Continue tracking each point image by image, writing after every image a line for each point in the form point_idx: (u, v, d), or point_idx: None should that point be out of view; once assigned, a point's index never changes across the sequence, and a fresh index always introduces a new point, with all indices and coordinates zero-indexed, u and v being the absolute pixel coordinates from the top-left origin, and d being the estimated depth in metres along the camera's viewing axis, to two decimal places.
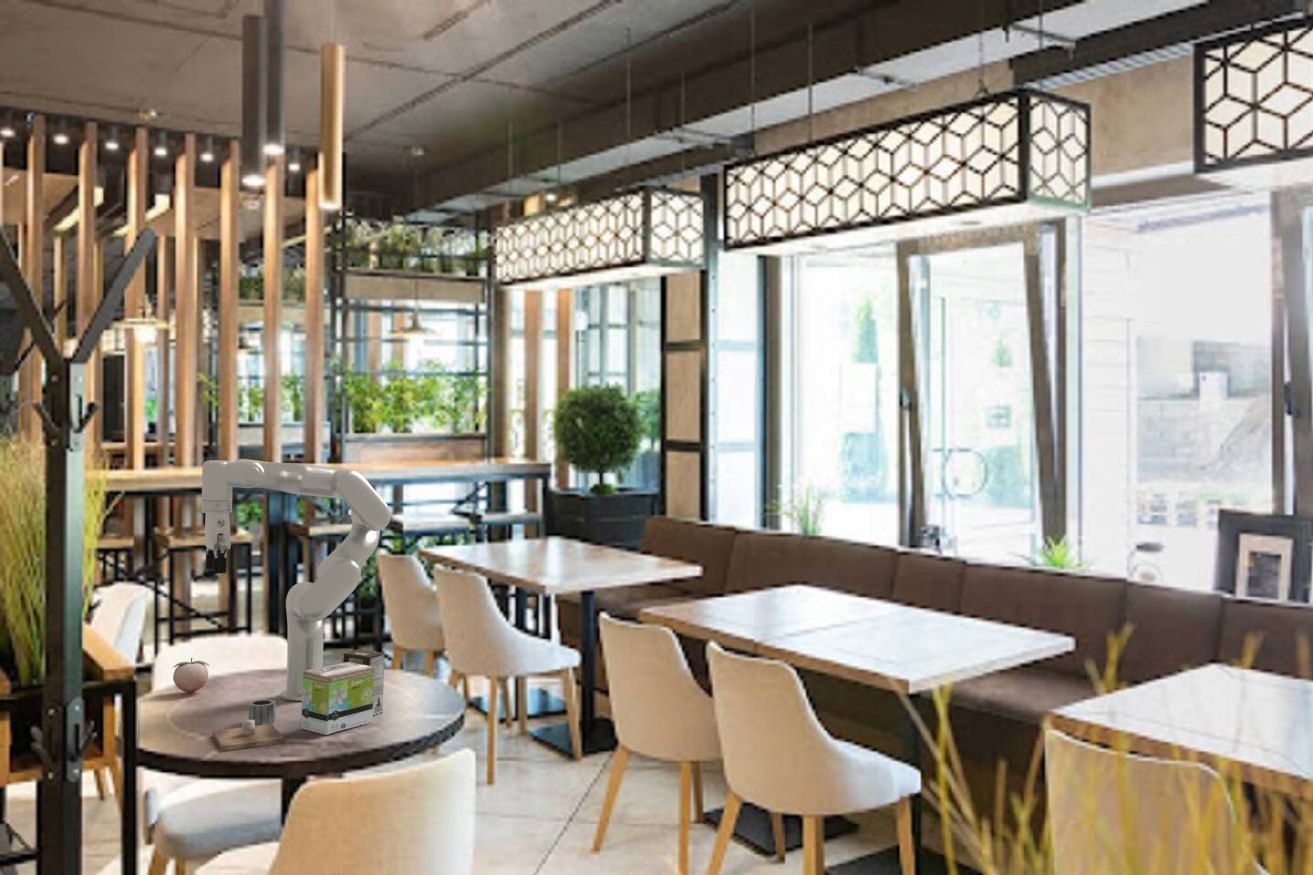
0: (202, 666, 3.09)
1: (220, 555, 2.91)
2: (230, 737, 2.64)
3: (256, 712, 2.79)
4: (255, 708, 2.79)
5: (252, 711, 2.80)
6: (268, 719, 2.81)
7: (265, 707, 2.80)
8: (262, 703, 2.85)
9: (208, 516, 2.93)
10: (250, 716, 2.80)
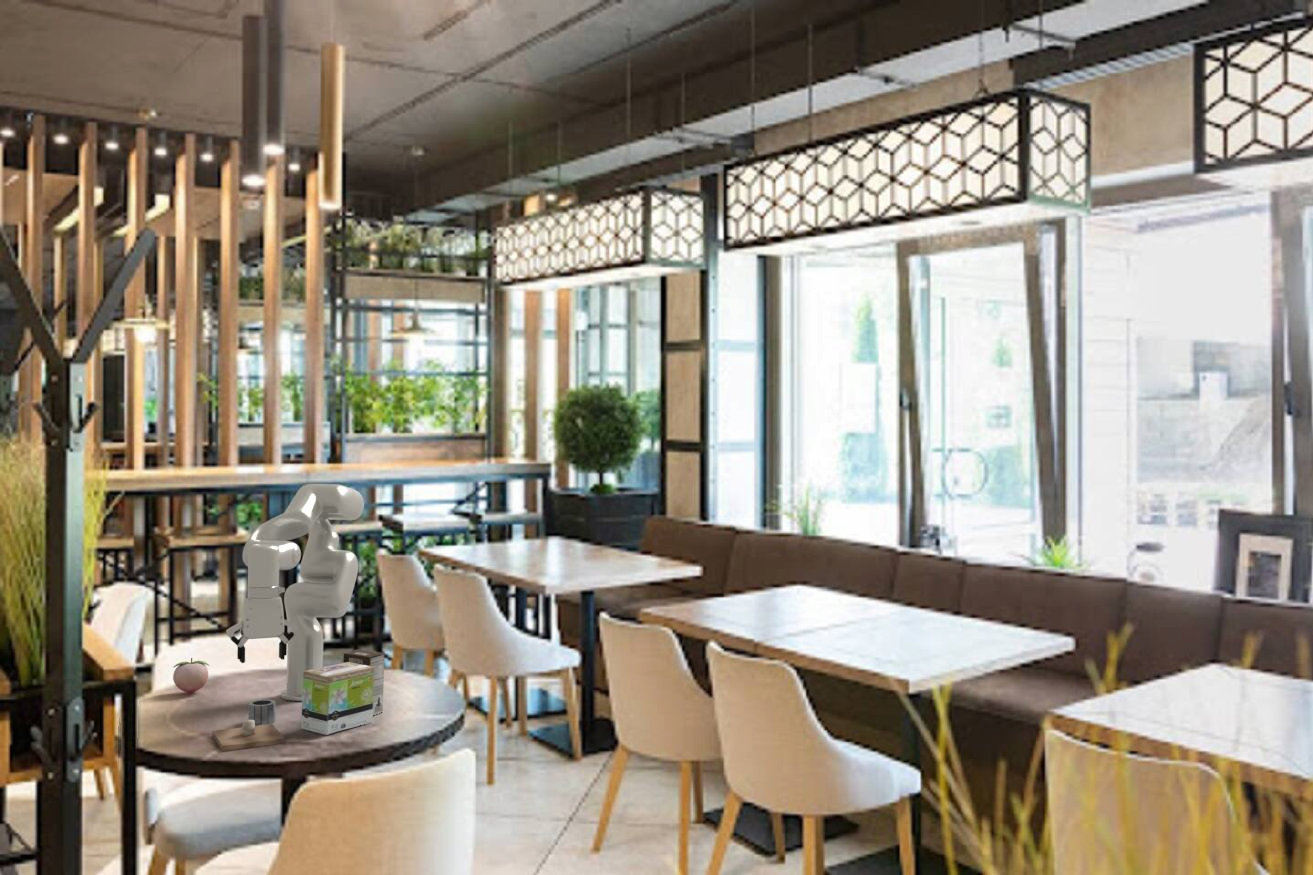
0: (202, 666, 3.09)
1: None
2: (230, 737, 2.64)
3: (256, 712, 2.79)
4: (255, 708, 2.79)
5: (252, 711, 2.80)
6: (268, 719, 2.81)
7: (265, 707, 2.80)
8: (262, 703, 2.85)
9: (272, 603, 2.81)
10: (250, 716, 2.80)
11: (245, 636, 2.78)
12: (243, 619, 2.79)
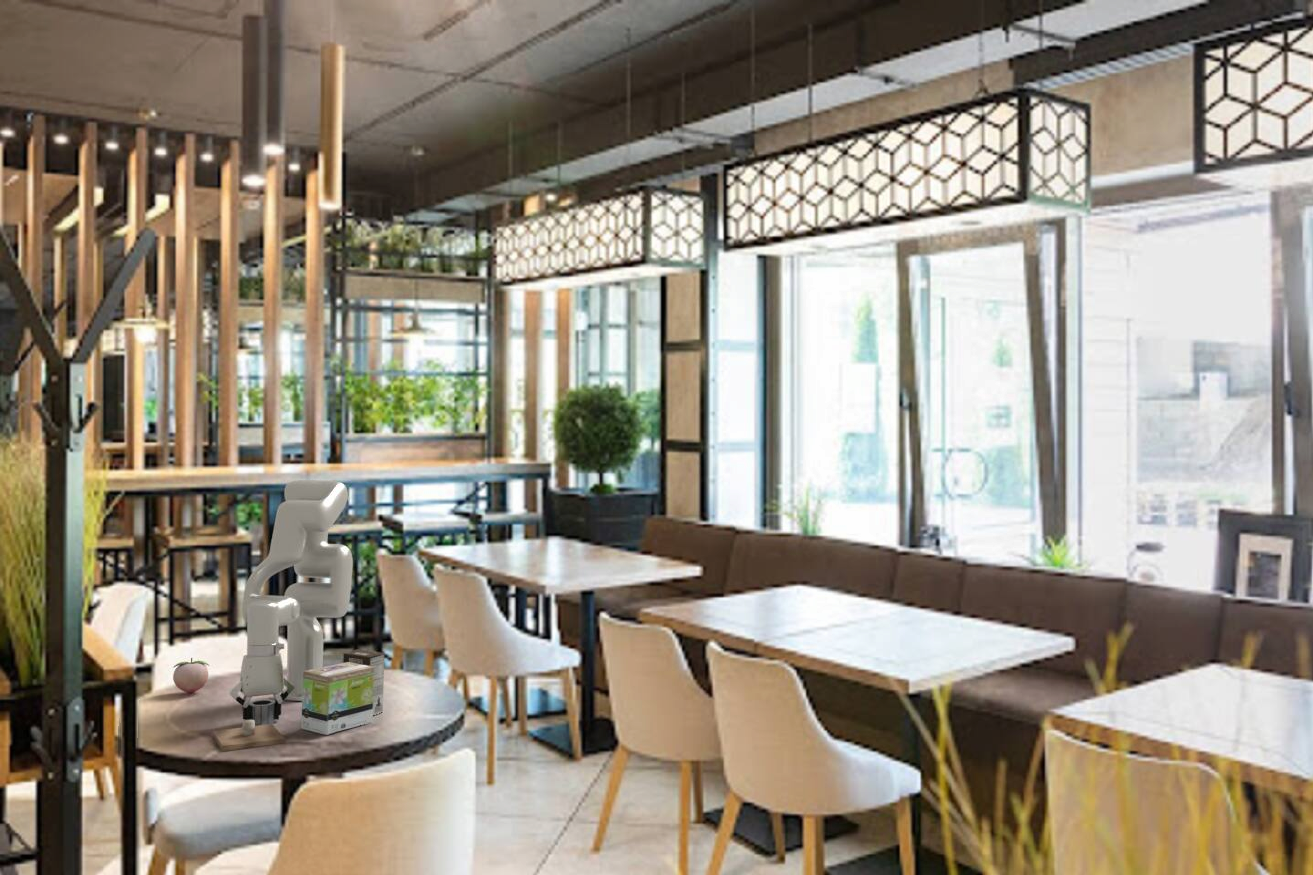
0: (202, 666, 3.09)
1: None
2: (230, 737, 2.64)
3: (256, 712, 2.79)
4: (255, 708, 2.79)
5: (252, 711, 2.80)
6: (268, 719, 2.81)
7: (265, 707, 2.80)
8: (262, 703, 2.85)
9: (271, 660, 2.81)
10: (250, 716, 2.80)
11: (245, 694, 2.79)
12: (243, 677, 2.79)
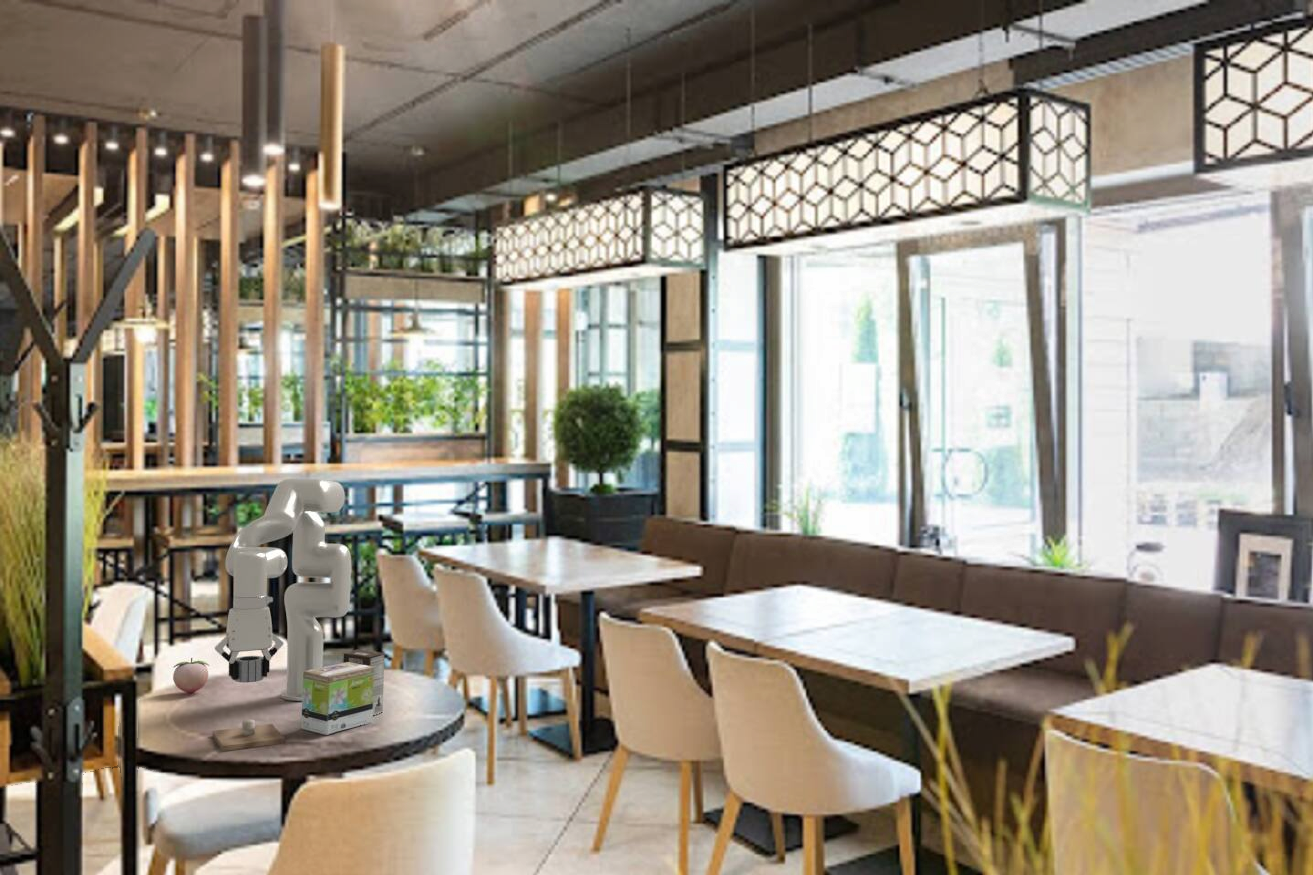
0: (202, 666, 3.09)
1: None
2: (230, 737, 2.64)
3: (243, 668, 2.64)
4: (242, 664, 2.64)
5: (239, 667, 2.64)
6: (256, 676, 2.65)
7: (252, 663, 2.65)
8: (249, 659, 2.69)
9: (259, 613, 2.66)
10: (237, 672, 2.65)
11: (231, 649, 2.63)
12: (229, 631, 2.64)
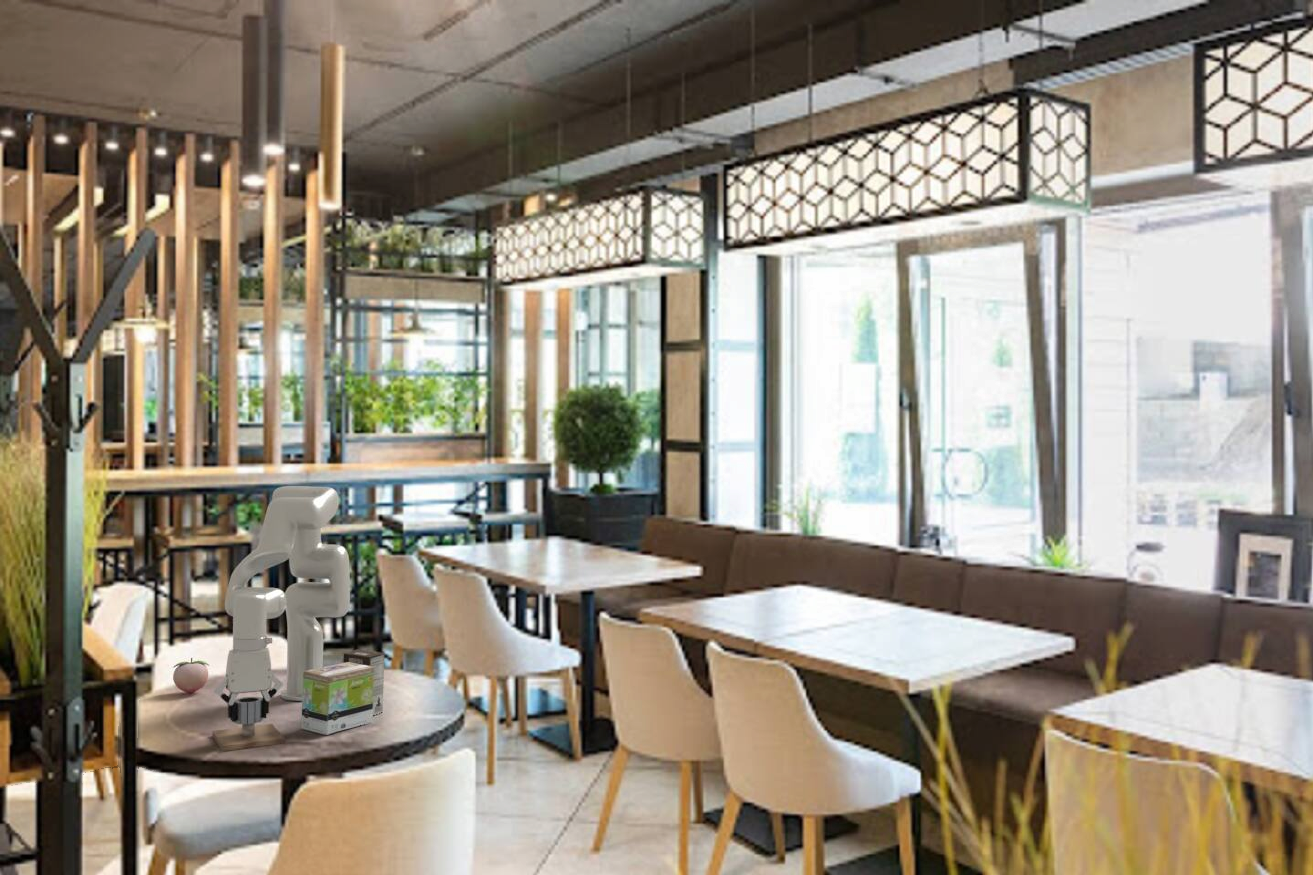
0: (202, 666, 3.09)
1: None
2: (230, 737, 2.64)
3: (242, 710, 2.64)
4: (241, 706, 2.64)
5: (238, 709, 2.64)
6: (255, 717, 2.65)
7: (251, 705, 2.65)
8: (249, 700, 2.69)
9: (258, 655, 2.66)
10: (236, 714, 2.65)
11: (230, 691, 2.63)
12: (228, 673, 2.64)
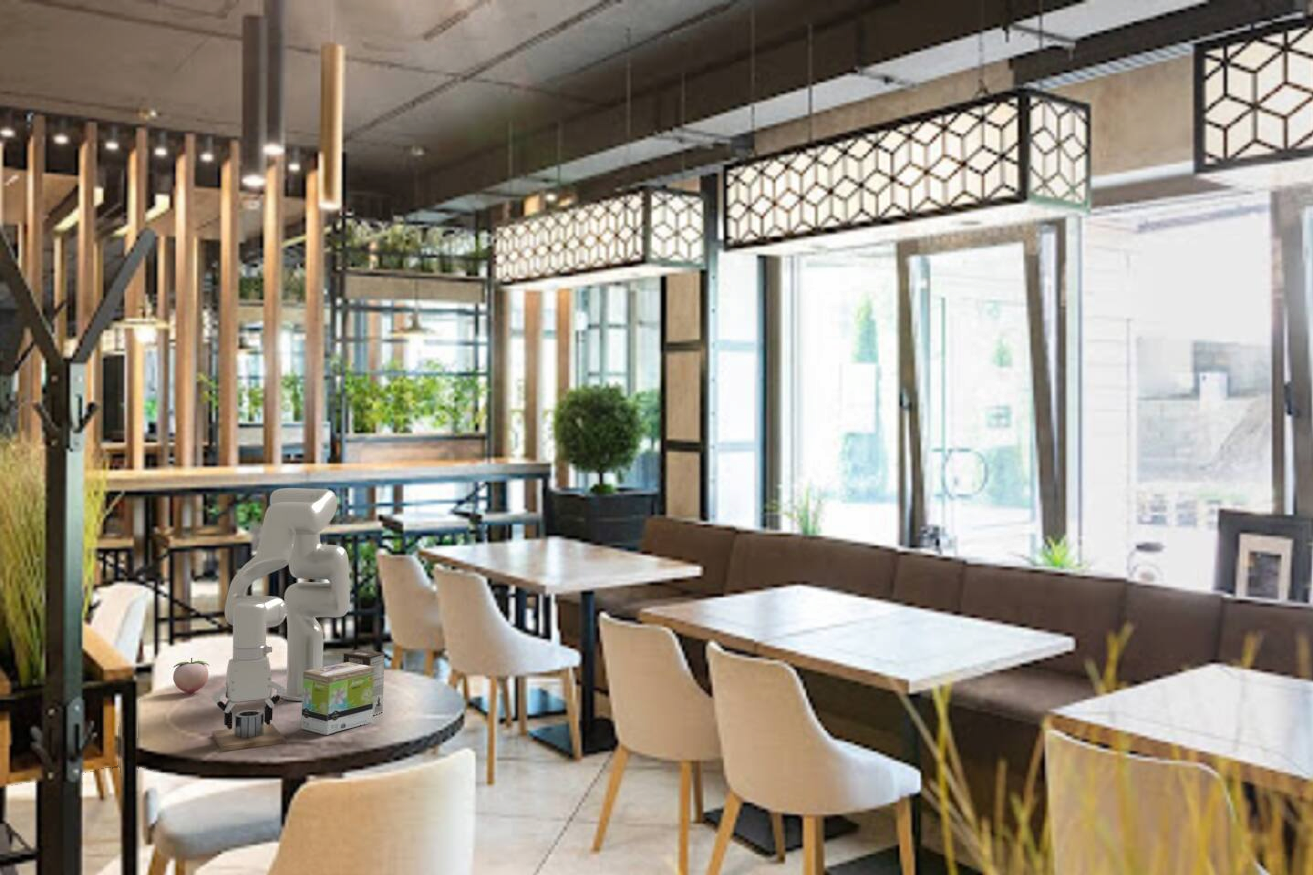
0: (202, 666, 3.09)
1: None
2: (230, 737, 2.64)
3: (243, 724, 2.64)
4: (242, 720, 2.64)
5: (239, 723, 2.65)
6: (255, 731, 2.66)
7: (252, 719, 2.65)
8: (249, 714, 2.70)
9: (258, 664, 2.66)
10: (236, 728, 2.65)
11: (230, 700, 2.64)
12: (228, 682, 2.64)
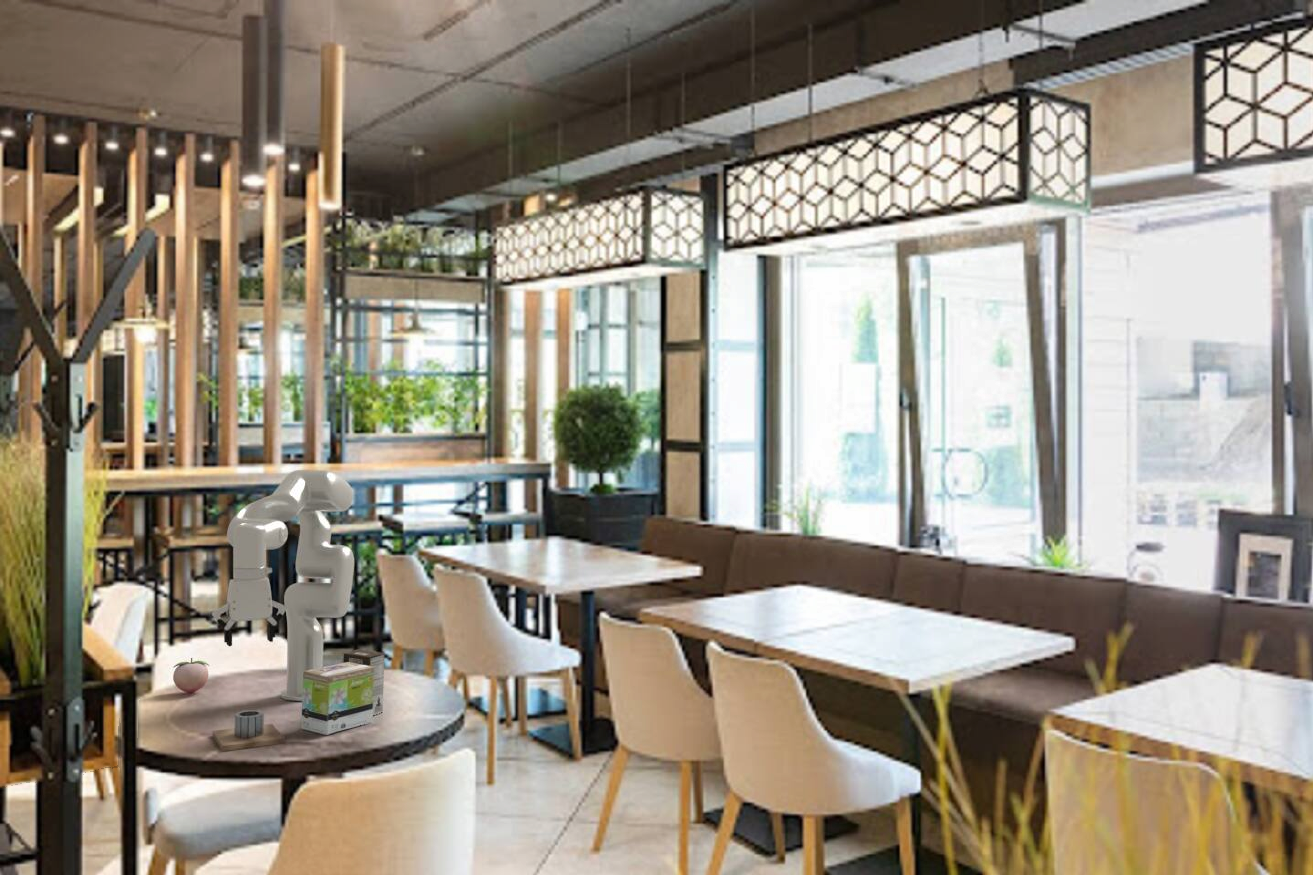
0: (202, 666, 3.09)
1: None
2: (230, 737, 2.64)
3: (243, 724, 2.64)
4: (242, 720, 2.64)
5: (239, 723, 2.65)
6: (255, 731, 2.66)
7: (252, 719, 2.65)
8: (249, 714, 2.70)
9: (259, 584, 2.71)
10: (236, 728, 2.65)
11: (232, 619, 2.69)
12: (229, 601, 2.69)
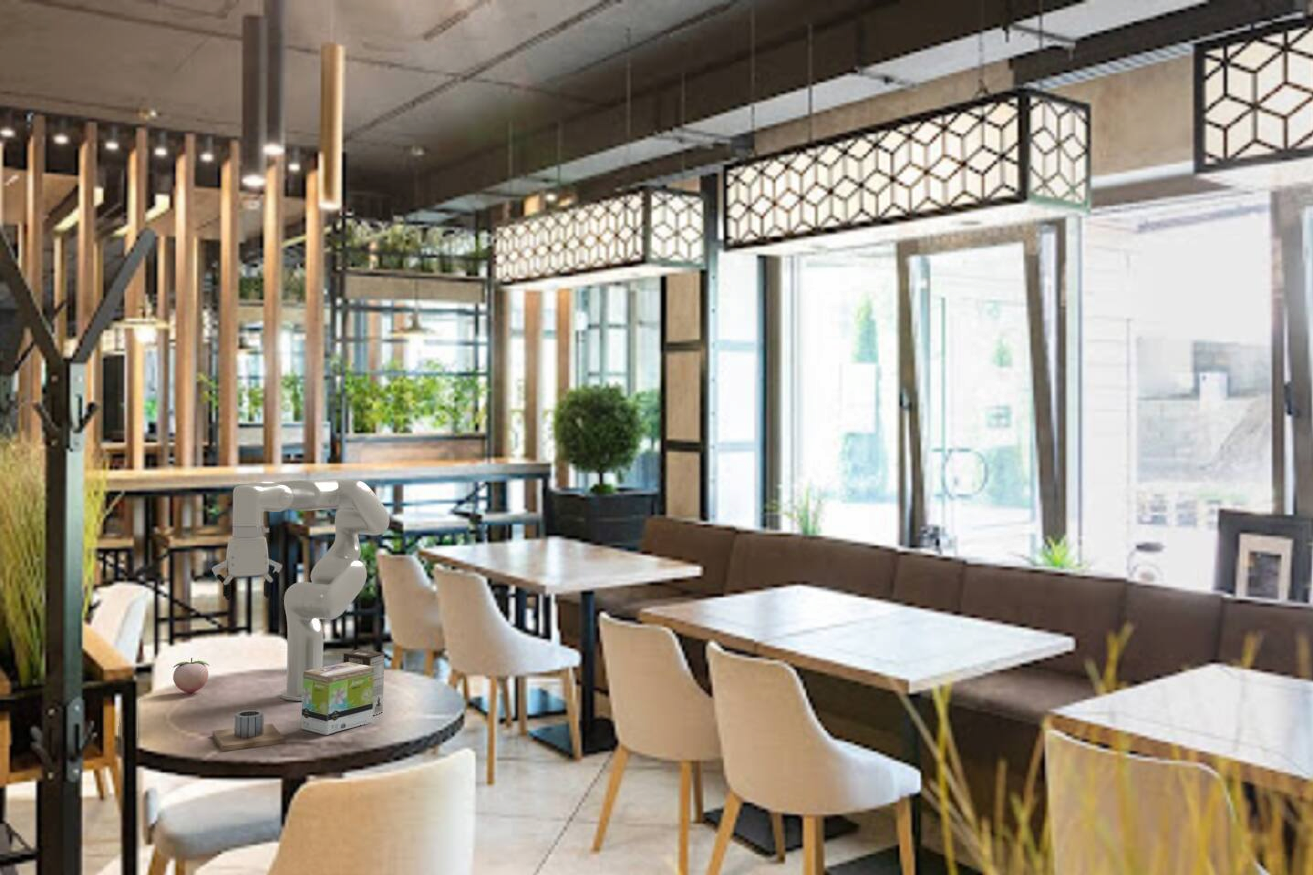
0: (202, 666, 3.09)
1: None
2: (230, 737, 2.64)
3: (243, 724, 2.64)
4: (242, 720, 2.64)
5: (239, 723, 2.65)
6: (255, 731, 2.66)
7: (252, 719, 2.65)
8: (249, 714, 2.70)
9: (256, 542, 2.88)
10: (236, 728, 2.65)
11: (230, 574, 2.86)
12: (228, 557, 2.86)
